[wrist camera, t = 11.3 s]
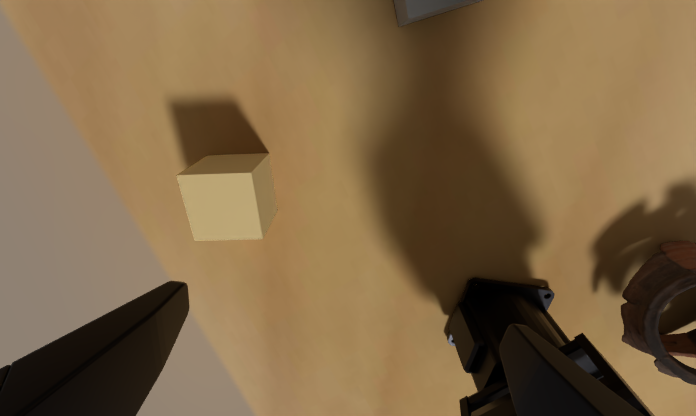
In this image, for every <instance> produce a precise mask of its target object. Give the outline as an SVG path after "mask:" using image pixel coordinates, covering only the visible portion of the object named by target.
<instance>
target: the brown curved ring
mask: <svg viewBox="0 0 696 416" xmlns="http://www.w3.org/2000/svg"><path fill="white" fill-rule="evenodd" d="M660 250H661V252H662V253H656V254H654V255H653V256H652V257H651V258H650V259H649V260H648V261H647V262H646V263H645V264H644V265H643V266H642V267H641V268H640V269H639V271H638V272H637V273H636V274H635V275H634V276H633V278H632V279H631V280H630V282H629V284H628V286H627V287H626V289H625V290H624V291H623V294H622V297H623V298H624V299H625V300H627V303H625V304H623V305H621V316H622V319H623V324H624V335H623V336H622V341H623V342H625V343H627V344H629V345H630V346H632V347H634V348H636V349H638V350H640V351H642V352H645V353H648V354H650V355H652V356H654V357H655V358H656V360H655V361H654V363H655V366H656V367H657V368H658V371H660V372H662V373H664V374H667V375H669V376H672V377H678V378H681V379H682V380H683V381H685V382H687V383H689V384H693V385H696V369H694V368H691V367H689V366H687V365H685V364H683V363H681V362H680V361H678V360H677V359H675V358H674V357H673V356H685V357H693V358H696V329H694V330H692V331H689V332H687V333H680V334H670V335H660V334H659V331H658V324H659V318H660V316H661V312H662V311H663V310H664V308H665V307H666V305H667V304H668V303H669V302H670V301H671V300H672V299H673V298H674V297H675V296H677V295H678V294H680V293H682V292H684V291H686V290H688V289H690V288H693V287H696V243H692V242H690V241H676V242H667V243H662V244H661V247H660Z"/></svg>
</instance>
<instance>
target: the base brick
mask: <svg viewBox="0 0 696 416" xmlns="http://www.w3.org/2000/svg"><path fill="white" fill-rule="evenodd" d="M479 1H482V0H394V5H395V10H396V15H397V21H398V26H399V27H400V26H403V25H406V24H409V23H412V22H416V21H419V20H422V19H425V18H428V17H431V16H435V15H438V14H441V13H444V12H447V11H450V10H454V9H457V8H460V7H463V6H466V5H470V4H473V3H476V2H479Z"/></svg>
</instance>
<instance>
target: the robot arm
mask: <svg viewBox="0 0 696 416" xmlns="http://www.w3.org/2000/svg"><path fill="white" fill-rule="evenodd" d="M474 284H477V285H475V286H473V285H474ZM545 294H547V295H545ZM553 298H554V293H553V291H552V290H551V289H550V288H547V287H540V286H533V285H525V284H518V283H510V282H503V281H495V280H488V279H480V278H472V279H470V280H468V282H467V284H466V287H465V290H464V292H463V295H462V298H461V301H460V302H459V303H458V304H457V306H456V309H455V311H454V314H453V317H452V319H451V322H450V325H449V333H448V336H447V340H448V343H449V344H450V345H452V346H455V347H456V349H457V352H458V355H459V358H460V361H461V363H462V366H463V369H464V370H465V372H466V373H471V375H472V377H473V380H474V383H475V385H476V388H477V391H478V392H477V393H475V394H473V395H471V396H469V397H468V396H466V397H464V398H462V399H460V410H461V416H654V415H653V413H652V412H651V411H650V410H649V409H648V407H647V406H646V405H645V404H644V403H643V402H642V400H641V399H640V398H639V397H638V396H637V395H636V393H635V392H634V391H633V390H632V389H631V388H630V386H629V385H628V384H627V383H626V382H625V381H624V379H623V378H622V377H621V376H620V375H619V374H618V372H617V371H616V370H615V369H614V368H613V367H612V366H611V364H610V363H609V362H608V361H607V360H606V359H605V358H604V357H603V355H602V354H601V353H600V352H599V351H598V350H597V349H596V348H595V346H594V345H593V344H592V343H591V342H590V341H589V340H588V339H587V337H586V336H585V335H584V334H583V333H581V334H579V335H578V336H576V337H574V338H575V339H574V340H572V341H570V340H569V339H568V338H567V336H566V335H565V334H564V333H563V331H562V330H561V329H560V327H559V326H558V325H557V323H556V322H555V321H554V320H553V318H552V317H551V316H550V314H549V313H548V312H547V309H548V308H549V306H550V304H551V302H552V300H553ZM188 311H189V296H188V286H187V284H186V283H185V282H179V281H169V282H167V283H165V284H163V285H161V286H159V287H157V288H155V289H153V290H151V291H150V292H147V293H146V294H144V295H142V296H140V297H138V298H136V299H134V300H132V301H130V302H128V303H126V304H124V305H122V306H121V307H119V308H117V309H115V310H113V311H111V312H109V313H107V314H105V315H103V316H102V317H99V318H97V319H96V320H94V321H92V322H90V323H88V324H86V325H84V326H82V327H80V328H78V329H76V330H74V331H73V332H70V333H68V334H67V335H65V336H63V337H61V338H59V339H57V340H55V341H53V342H51V343H49V344H47V345H45V346H43V347H41V348H40V349H38V350H36V351H34V352H32V353H30V354H28V355H26V356H24V357H22V358H20V359H18V360H17V361H14V362H13V363H12V364H11V365H6V366H5V367H3V368H1V369H0V416H136V414H137V412H138V411H139V409H140V407H141V406H142V404H143V402H144V401H145V399H146V397H147V395H148V394H149V392H150V390H151V389H152V387H153V385H154V383H155V382H156V380H157V378H158V377H159V375H160V373H161V371H162V369H163V367H164V365H165V363H166V361H167V359H168V357H169V355H170V352H171V350H172V348H173V346H174V344H175V341H176V339H177V337H178V334H179V332H180V330H181V328H182V326H183V323H184V321H185V319H186V317H187V315H188Z"/></svg>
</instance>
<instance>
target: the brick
mask: <svg viewBox="0 0 696 416" xmlns="http://www.w3.org/2000/svg"><path fill="white" fill-rule="evenodd" d="M176 176H177V179H178V183H179V187H180V190H181V194H182V197H183V201H184V205H185V208H186V212H187V216H188V219H189V223H190V226H191V230H192V234H193V237H194V241H208V240H245V239H263V238H264V236H265V234H266V232H267V230H268V228H269V226H270V224H271V222H272V220H273V218H274V216H275V214H276V212H277V210H278V209H277V202H276V196H275V189H274V182H273V175H272V168H271V161H270V154H269V153H258V154H230V155H207V156H205V157H204V158H202V159H201V160H199V161H198V162H196V163H195V164H193V165H191V166H190V167H188V168H187V169H185V170H184V171H182V172H181V173H179V174H178V175H176Z"/></svg>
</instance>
